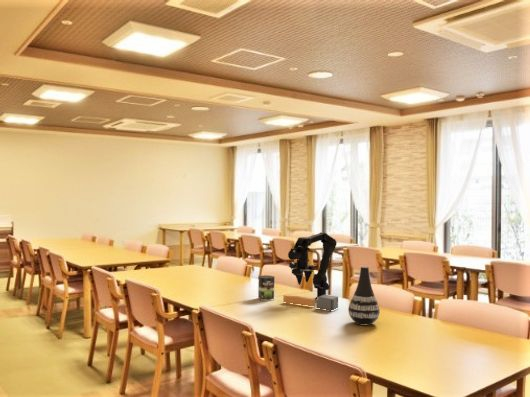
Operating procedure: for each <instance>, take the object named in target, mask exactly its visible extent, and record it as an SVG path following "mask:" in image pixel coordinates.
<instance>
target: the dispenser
mask: <svg viewBox="0 0 530 397" xmlns="http://www.w3.org/2000/svg"><path fill="white" fill-rule="evenodd" d="M315 307H316V308H320V309H326V310H334V309H336V308H338V309H339V296H336V295H331V294H330V295H329V294H326V295H322V296H320V297H318V298H317V299H315Z"/></svg>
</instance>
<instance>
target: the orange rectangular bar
mask: <svg viewBox="0 0 530 397" xmlns="http://www.w3.org/2000/svg"><path fill="white" fill-rule="evenodd" d="M282 302H286V303H293V304H301V305H308V306H315V307H316V299H315V297H314V298H313V297H306V296H301V295H300V296H299V295H292V294H284V295H283V300H282Z"/></svg>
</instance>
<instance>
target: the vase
mask: <svg viewBox="0 0 530 397" xmlns="http://www.w3.org/2000/svg"><path fill="white" fill-rule="evenodd" d="M359 271H360V273H359V276H358V277H359V278H358V282H357V285H356V289H355V291H354V294H353V296H351V297H352V298H351V300H350V302H349V304H348V315H349V317H350V319H351V320H352V321H354V322H355V323H356V324H357V323H359V324H370V325H371V324H374V322H377V320H378V319H379V316H380V312H381V311H380V305H379V303H378V301H377V298H376V296H375V293H374V290H373V286H372V283H371V282H372V281H371V276H370V269H369V267H368V266H361V267H360V270H359ZM359 324H358V325H359Z"/></svg>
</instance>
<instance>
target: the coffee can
mask: <svg viewBox="0 0 530 397" xmlns="http://www.w3.org/2000/svg"><path fill="white" fill-rule="evenodd" d="M257 288H258V289H257V292H258V293H257V295H258V296H257V299H258V300H259V299H261V300H260V301H263V300H270V301H272V300H271V299H274V300H275V276H274V275H259V276H258V287H257Z"/></svg>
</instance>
